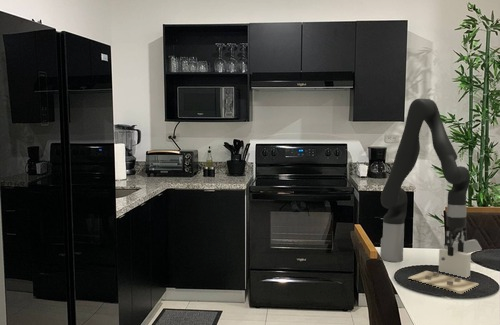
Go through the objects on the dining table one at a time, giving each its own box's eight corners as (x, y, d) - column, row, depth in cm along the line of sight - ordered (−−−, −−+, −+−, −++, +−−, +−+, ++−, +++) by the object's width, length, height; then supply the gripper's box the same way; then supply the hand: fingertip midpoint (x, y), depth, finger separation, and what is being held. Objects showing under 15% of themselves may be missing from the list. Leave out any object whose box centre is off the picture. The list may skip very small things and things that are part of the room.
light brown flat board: (408, 279, 202) (408, 273, 201) (426, 272, 211) (426, 267, 211) (461, 294, 185) (461, 287, 185) (478, 286, 194) (478, 279, 194)
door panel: (437, 273, 211) (438, 249, 210) (442, 271, 213) (443, 248, 213) (465, 280, 202) (466, 255, 201) (469, 278, 204) (470, 254, 204)
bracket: (450, 265, 230) (484, 258, 223) (443, 245, 231) (476, 236, 224) (451, 263, 234) (485, 256, 226) (444, 243, 235) (477, 235, 228)
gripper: (456, 212, 213) (455, 249, 214) (439, 216, 204) (438, 255, 205) (473, 214, 208) (472, 252, 209) (456, 218, 198) (455, 258, 199)
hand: (455, 254), depth 207 cm, fingers open, 8 cm apart
